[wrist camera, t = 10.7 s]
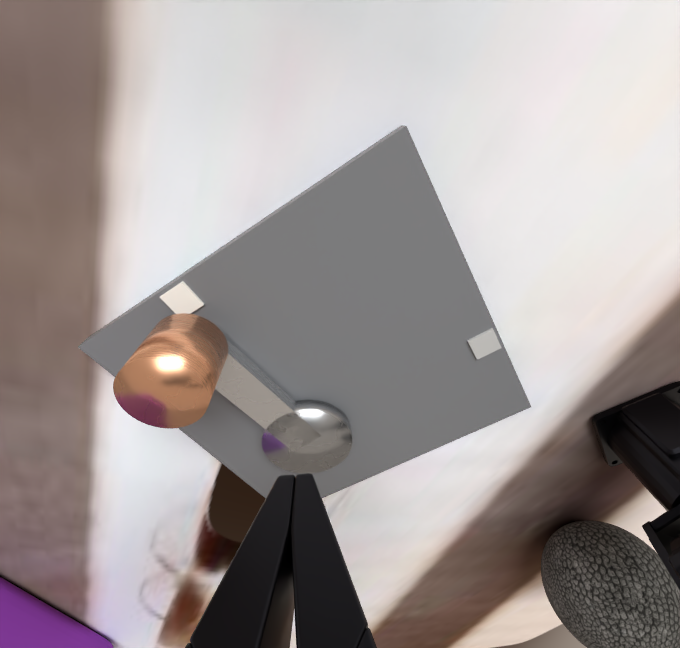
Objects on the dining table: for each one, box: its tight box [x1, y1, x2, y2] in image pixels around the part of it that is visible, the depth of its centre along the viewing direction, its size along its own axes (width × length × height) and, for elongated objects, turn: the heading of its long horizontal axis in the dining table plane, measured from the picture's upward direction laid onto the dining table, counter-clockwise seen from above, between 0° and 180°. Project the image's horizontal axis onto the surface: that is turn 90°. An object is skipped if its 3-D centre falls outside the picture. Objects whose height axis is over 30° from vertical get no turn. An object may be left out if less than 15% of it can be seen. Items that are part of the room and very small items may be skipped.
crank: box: [113, 313, 352, 473], centre depth 20 cm, size 15×6×5 cm, turn 36°
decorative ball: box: [541, 521, 680, 648], centre depth 30 cm, size 10×10×10 cm
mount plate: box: [78, 126, 531, 498], centre depth 22 cm, size 20×21×1 cm
